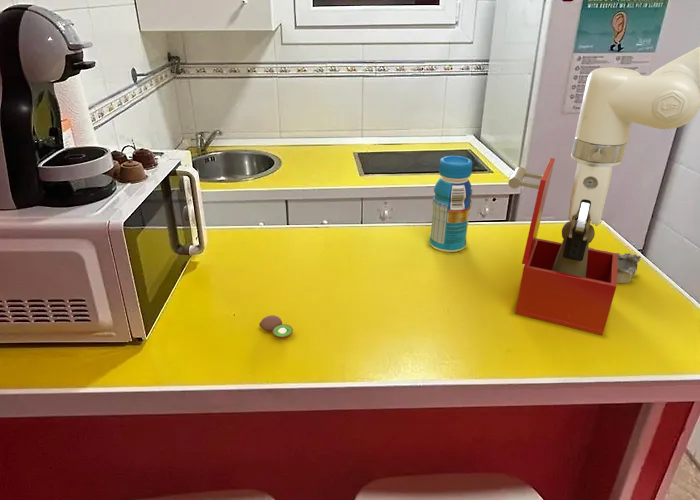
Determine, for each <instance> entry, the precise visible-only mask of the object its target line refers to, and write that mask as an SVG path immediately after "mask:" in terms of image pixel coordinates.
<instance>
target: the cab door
mask: <svg viewBox="0 0 700 500" xmlns="http://www.w3.org/2000/svg"><path fill="white" fill-rule="evenodd" d="M555 161H556V158H552V157H550V159H549V160H548V163H547V165H546V166H545V169H544V172H543V174H539V173H535V172H528V171H527V170H526V168H524V167H523V166H518V167H517V168H515V170H514V171H513V173H512V175H511V176H510V178H509V179H508V181H507V183H508V186H509V188H511V189H519V187H526V188H530V189H536V190H538V191H537V194H536V200H535V204H534V207H533V213H532V216H531V220H530V226H529V230H528V233H527V234H528V235H527V239H526V244H525V247H524V251H523V257H522V261H521V264H522V265H527V262H528V259H529V257H530V254H531V251H532V248H533V246H534V243H535V240H536V238H538V233H539V229H540V226H541V225H540V224H541V220H542V217H543V212H544V207H545V204H546V199H547V194H548V192H549V188H550V187H549V186H550V181H551V178H552V174H553V170H554V166H555ZM525 178H529V179H530V178H531V179H536V180H539V181H540V182H539V183H536V182H532V181H531V182H530V181H526V180H524V179H525Z"/></svg>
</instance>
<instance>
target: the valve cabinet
mask: <svg viewBox="0 0 700 500" xmlns="http://www.w3.org/2000/svg"><path fill="white" fill-rule="evenodd" d="M561 244H562V242H559V241H553V240H548V239H544V238H543V239H542V238H538V237H536V240H535V243H534V246H533V248H532V251H531V254H530V257H529V259H528V262H527V265H525V264H523V269H522V275H521V279H520V284H519V290H518V296H517V301H516V307H515V312H514V315H519V316H523V317H527V318H531V319H535V320H539V321H543V322H547V323H551V324H555V325H559V326H563V327H567V328H571V329H575V330H579V331H584V332H588V333H592V334H594V335H595V334H596V335H600V336H603V335H604V331H605V328H606V325H607V323H608V322H607V321H608V318H609V314H610V312H611V307H612V303H613V300H614V297H615V293H616V290H617V285H618V283H617V264H618V254H617V253H618V252H611V251H608V252H607V250H601V249H595V248H594V249H591V248H592V247H591V248H588V257H587V269H586V278H584V277H579V276H575V275H570V274H565V273H560V272H556V271H551V270H552V268H553V265H554V263H555V260H556V257H557V255H558V252H559V250H560V247H561Z"/></svg>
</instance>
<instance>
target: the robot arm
mask: <svg viewBox="0 0 700 500" xmlns="http://www.w3.org/2000/svg"><path fill="white" fill-rule="evenodd" d="M699 111H700V46H698V47H696V48H693V49H692V50H690V51H688V52H686V53H685V54H683V55H680V56H679V57H677V58H675V59H673V60H672V61H670V62H667V63H665V64H664V65H662V66H661V67H659V68H656V69H655V70H654V71H652V72H651V73H650V74H649V75H642V74H641V73H640V72H639V71H637V70H635V69H630V68H624V67H610V66H608V67H606V66H605V67H598V68H595V69H593V70H592V71H591V72H590V73H589V75H588V76H587V79H586V83H585V88H584V92H583V97H582V101H581V105H580V111H579V116H578V119H577V125H576V129H575V136H574V139H573V144H572V149H571V153H570V158H571V159H572V160H573V161H575V162H577V164H576V168H575V172H574V177H573V181H572V188H571V194H570V201H569V209H568V220H569V221H571V222H572V224H571V229H570V233H569V236H568V235H567V239H566V244H565V248H564V253H563V257H564V258H567V259H572V260H577V261H582V260H583V257H584V253H585V249H586V245H587V241H588V239H587V235H588V230H589V226H590V225H595V226H596V227H598V226H599V225H600V224H601V220H602V217H603V213H604V208H605V204H606V200H607V197H608V194H609V193H608V192H609V188H610V186H611V185H610V184H611V180H612V175H613V169H614V167H617V166H619V165H622V162H623V159H624V154H625V151H626V147H627V143H628V139H629V135H630V131H631V128H632V124H633V123H634V124H637V125H642V126H646V127H648V128H653V129H658V130H674V129H678V128H680V127H682V126H685V125H686V124H688V123H689V122H691V121H692V120H693V119H694V118H695V117H696V115H697V114H698V112H699ZM575 224H577V225H576V227H575V228H574V226H575ZM585 225H586V228H585V229H584V227H585ZM595 226H594V227H595Z"/></svg>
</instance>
